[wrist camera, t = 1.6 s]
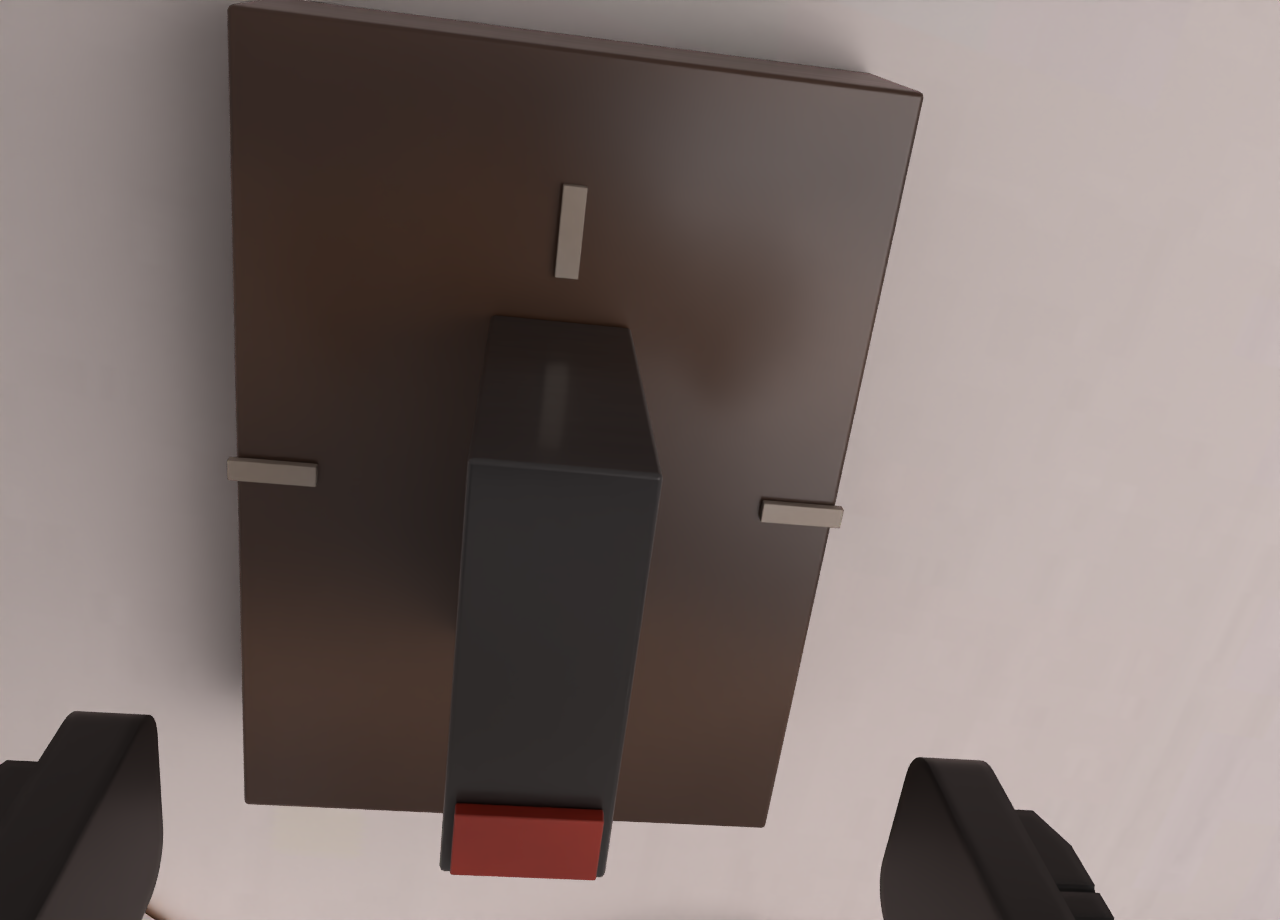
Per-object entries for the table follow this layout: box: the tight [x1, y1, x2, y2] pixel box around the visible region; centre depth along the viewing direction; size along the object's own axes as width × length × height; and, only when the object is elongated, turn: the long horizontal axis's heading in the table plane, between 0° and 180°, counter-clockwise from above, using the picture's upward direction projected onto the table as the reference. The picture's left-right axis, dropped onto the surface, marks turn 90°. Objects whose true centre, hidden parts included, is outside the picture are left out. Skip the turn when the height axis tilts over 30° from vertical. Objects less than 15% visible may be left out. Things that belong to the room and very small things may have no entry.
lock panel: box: [227, 0, 923, 828], centre depth 20 cm, size 14×10×3 cm
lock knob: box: [440, 315, 663, 880], centre depth 16 cm, size 6×2×6 cm, turn 173°
